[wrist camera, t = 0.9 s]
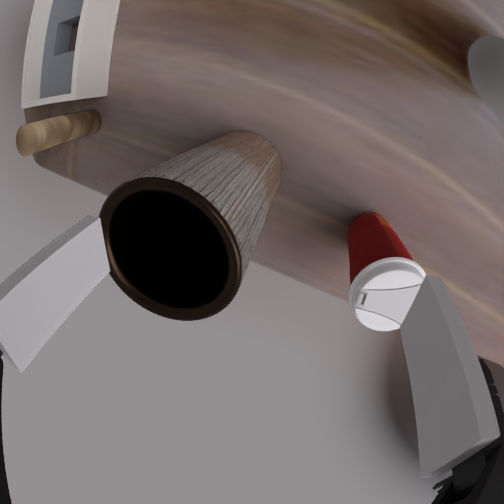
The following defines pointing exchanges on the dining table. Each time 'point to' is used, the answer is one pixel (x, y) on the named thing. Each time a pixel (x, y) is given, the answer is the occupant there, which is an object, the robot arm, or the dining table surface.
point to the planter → (191, 225)
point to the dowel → (56, 131)
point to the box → (56, 51)
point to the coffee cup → (380, 274)
